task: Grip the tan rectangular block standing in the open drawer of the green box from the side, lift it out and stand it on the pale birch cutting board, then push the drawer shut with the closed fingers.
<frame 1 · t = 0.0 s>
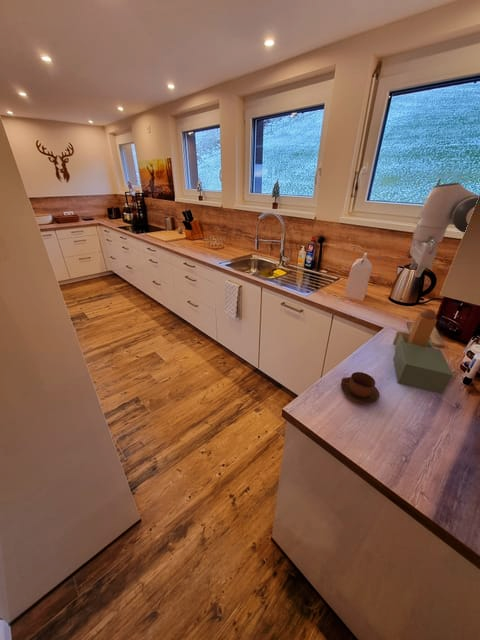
hand: (414, 272, 99), 33 cm above the worktop, tool pointing down, fingers open, 8 cm apart
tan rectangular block: (411, 353, 106), point 2 cm above the worktop, touching drawer
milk: (354, 295, 164), on the worktop
cup and saucer: (358, 393, 88), on the worktop
drawer: (413, 346, 107), point 4 cm above the worktop, slide at 10.0 cm, touching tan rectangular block
green box: (415, 375, 98), on the worktop
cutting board: (423, 335, 123), on the worktop
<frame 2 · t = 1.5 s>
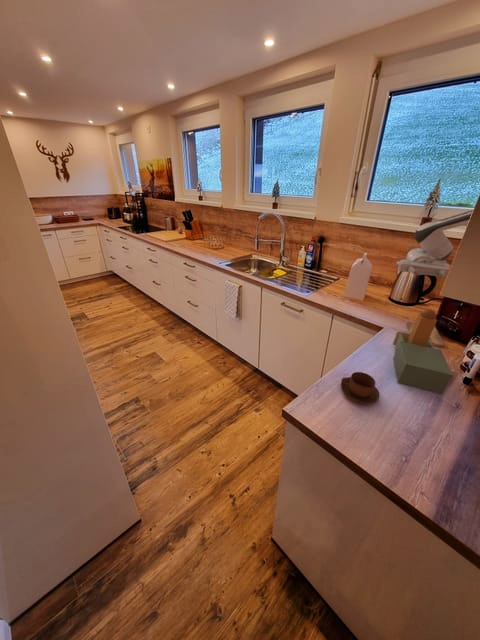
hand: (428, 274, 107), 30 cm above the worktop, tool horizontal, fingers open, 8 cm apart
nothing on the worktop moved.
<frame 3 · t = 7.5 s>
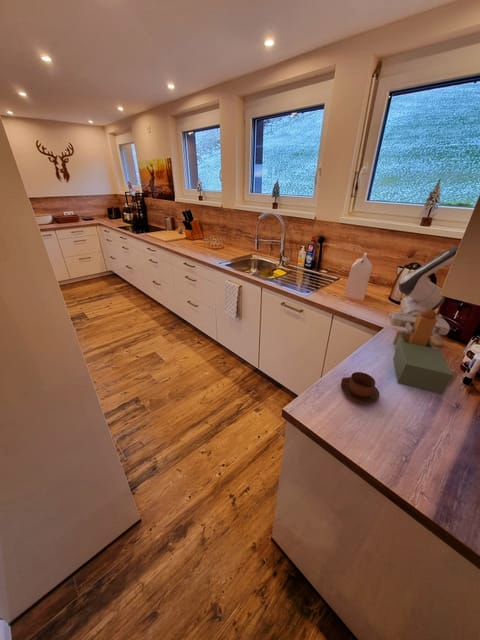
hand: (421, 332, 101), 13 cm above the worktop, tool horizontal, fingers closed on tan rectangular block, 5 cm apart
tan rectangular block: (411, 353, 106), point 2 cm above the worktop, touching drawer, gripper
everything else where it was.
when the fingers open (12 cm above the worktop, at t = 17.9 s): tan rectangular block stays where it is, resting on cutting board.
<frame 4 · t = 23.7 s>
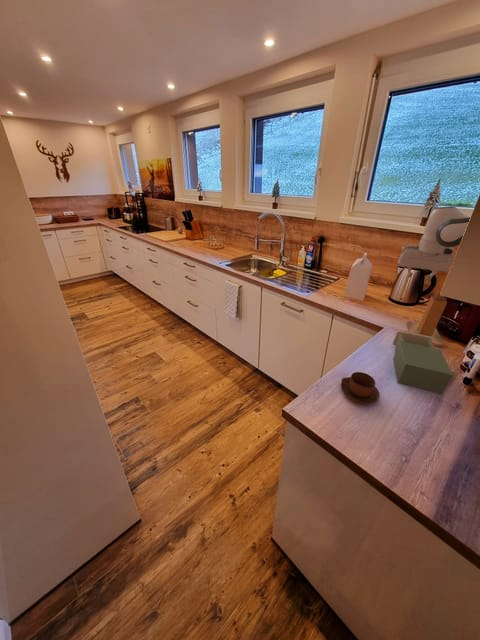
hand: (418, 277, 119), 25 cm above the worktop, tool pointing down, fingers open, 6 cm apart
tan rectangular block: (424, 332, 123), point 1 cm above the worktop, touching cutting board
drawer: (413, 346, 107), point 4 cm above the worktop, slide at 10.0 cm
everything else where it was.
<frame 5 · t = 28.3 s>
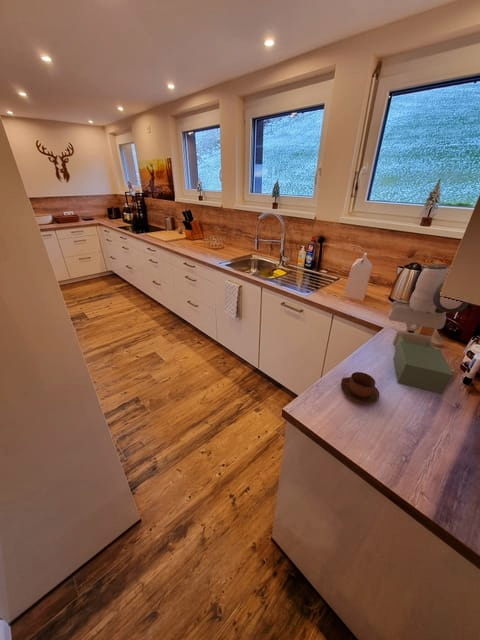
hand: (409, 332, 115), 5 cm above the worktop, tool pointing down, fingers closed
drawer: (413, 346, 107), point 4 cm above the worktop, slide at 9.8 cm, touching gripper
everything else where it was.
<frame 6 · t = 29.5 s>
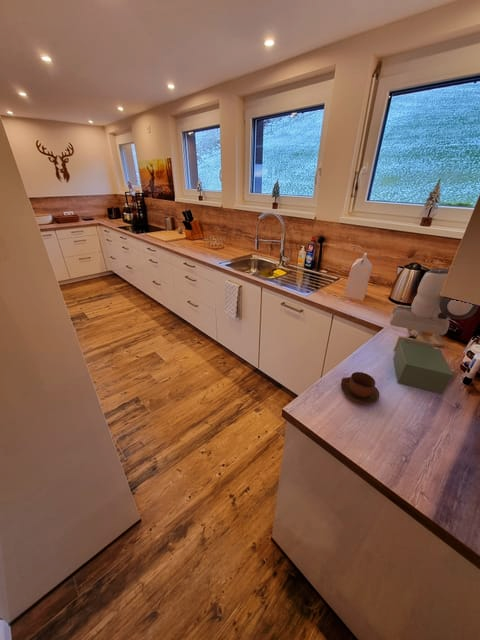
hand: (411, 338, 111), 5 cm above the worktop, tool pointing down, fingers closed
drawer: (415, 352, 103), point 4 cm above the worktop, slide at 5.0 cm, touching gripper
everything else where it was.
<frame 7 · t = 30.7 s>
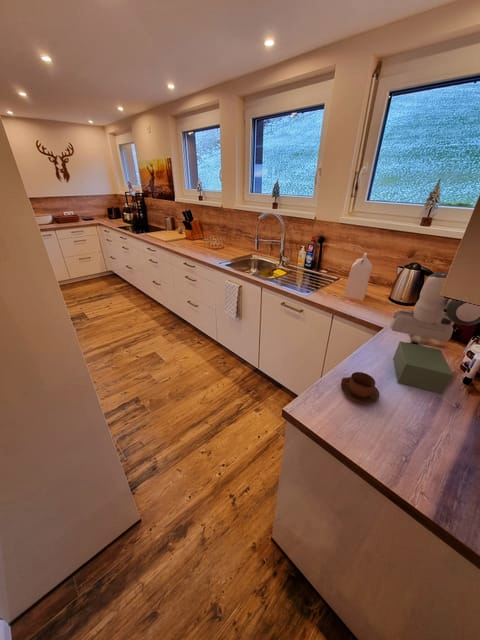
hand: (413, 343, 107), 5 cm above the worktop, tool pointing down, fingers closed, pressing on drawer
drawer: (417, 359, 99), point 4 cm above the worktop, slide at 0.2 cm, touching gripper
everything else where it was.
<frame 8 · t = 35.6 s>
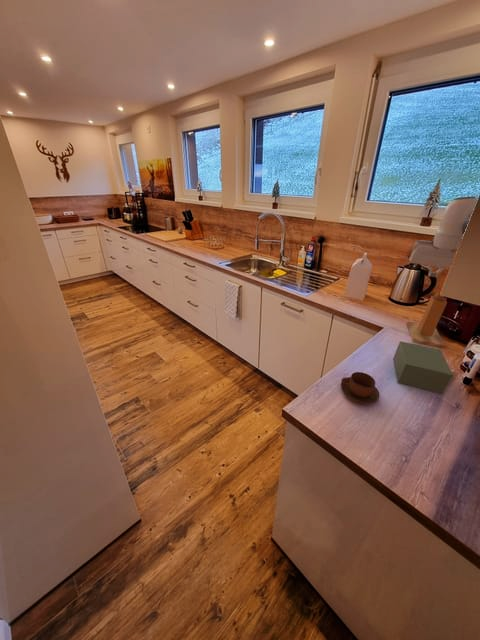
hand: (432, 276, 108), 29 cm above the worktop, tool pointing down, fingers closed
drawer: (417, 359, 99), point 4 cm above the worktop, slide at 0.0 cm, touching green box
everything else where it was.
at the end: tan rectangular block inside the target area on the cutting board (0.1 cm from its centre), point 1.5 cm above the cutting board's base; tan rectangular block tilted 0°; drawer slide at 0.0 cm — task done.
